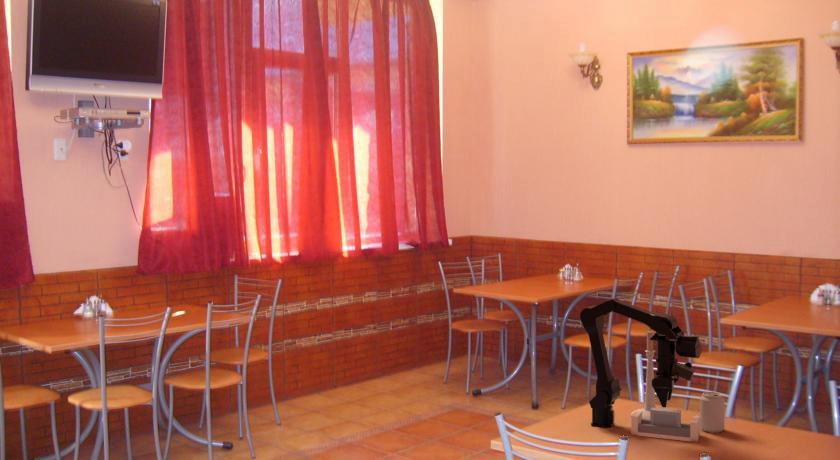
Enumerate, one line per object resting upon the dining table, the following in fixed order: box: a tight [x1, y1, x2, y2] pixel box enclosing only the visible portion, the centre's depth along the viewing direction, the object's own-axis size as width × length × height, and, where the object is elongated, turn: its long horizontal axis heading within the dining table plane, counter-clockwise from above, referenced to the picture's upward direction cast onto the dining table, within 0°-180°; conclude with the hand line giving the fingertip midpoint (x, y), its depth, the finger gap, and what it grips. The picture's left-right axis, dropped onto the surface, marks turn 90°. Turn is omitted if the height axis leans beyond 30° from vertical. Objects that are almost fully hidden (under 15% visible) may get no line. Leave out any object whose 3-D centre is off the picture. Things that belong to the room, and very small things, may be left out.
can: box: [699, 391, 726, 434], centre depth 269 cm, size 8×8×12 cm
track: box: [630, 409, 701, 443], centre depth 264 cm, size 20×8×6 cm, turn 65°
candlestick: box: [630, 330, 657, 420], centre depth 284 cm, size 13×13×30 cm
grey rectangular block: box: [650, 407, 682, 428], centre depth 264 cm, size 9×3×7 cm, turn 65°
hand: (666, 403), depth 264 cm, fingers open, 9 cm apart
